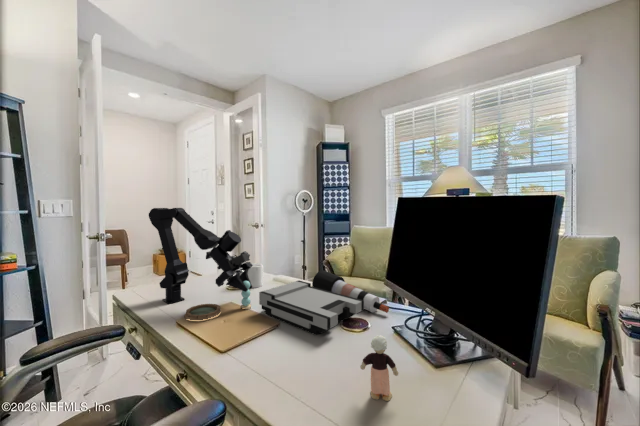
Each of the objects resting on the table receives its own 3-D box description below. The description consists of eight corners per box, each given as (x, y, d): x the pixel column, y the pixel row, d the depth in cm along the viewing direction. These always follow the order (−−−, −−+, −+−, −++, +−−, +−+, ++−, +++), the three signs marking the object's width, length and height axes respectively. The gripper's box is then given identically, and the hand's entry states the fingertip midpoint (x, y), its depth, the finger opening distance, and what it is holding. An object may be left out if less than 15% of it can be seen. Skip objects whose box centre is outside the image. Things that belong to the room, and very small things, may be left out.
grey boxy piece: (327, 342, 81) (327, 314, 80) (259, 314, 101) (259, 292, 101) (363, 319, 97) (363, 296, 96) (298, 299, 117) (298, 280, 117)
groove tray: (179, 315, 99) (179, 310, 99) (210, 306, 108) (210, 301, 108) (194, 325, 91) (194, 319, 91) (227, 314, 100) (227, 308, 100)
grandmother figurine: (394, 389, 60) (395, 332, 59) (399, 402, 56) (399, 341, 55) (359, 388, 60) (359, 331, 60) (361, 401, 56) (361, 340, 56)
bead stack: (238, 308, 106) (238, 280, 106) (247, 305, 109) (247, 278, 109) (244, 310, 104) (244, 282, 103) (253, 307, 106) (252, 280, 106)
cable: (382, 329, 98) (378, 309, 94) (315, 297, 122) (309, 279, 117) (396, 310, 104) (392, 290, 100) (330, 282, 128) (324, 265, 123)
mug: (245, 291, 127) (245, 269, 127) (235, 287, 133) (235, 266, 132) (266, 285, 136) (266, 264, 136) (256, 282, 141) (256, 262, 141)
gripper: (222, 249, 97) (251, 282, 95) (248, 242, 115) (272, 270, 113) (203, 270, 99) (230, 303, 97) (231, 260, 118) (255, 287, 115)
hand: (249, 289), depth 106 cm, fingers closed on bead stack, 3 cm apart
